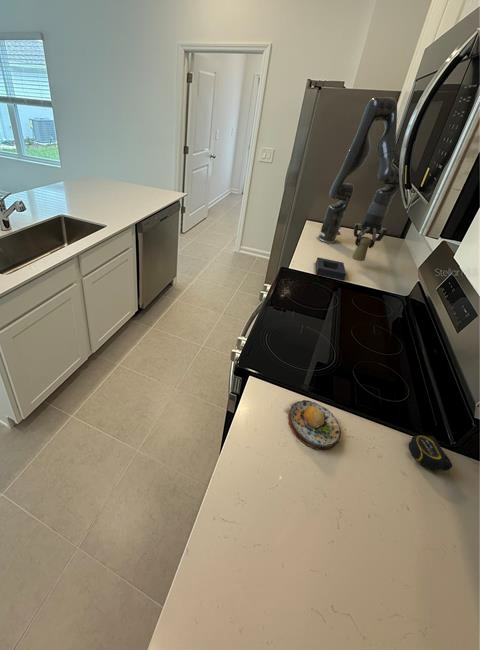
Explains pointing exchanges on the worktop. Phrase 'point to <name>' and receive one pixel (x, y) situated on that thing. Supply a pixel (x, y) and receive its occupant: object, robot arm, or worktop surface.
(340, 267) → the base pad
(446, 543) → the worktop surface
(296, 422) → the speckled dish
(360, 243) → the olive flared shaker
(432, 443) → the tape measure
